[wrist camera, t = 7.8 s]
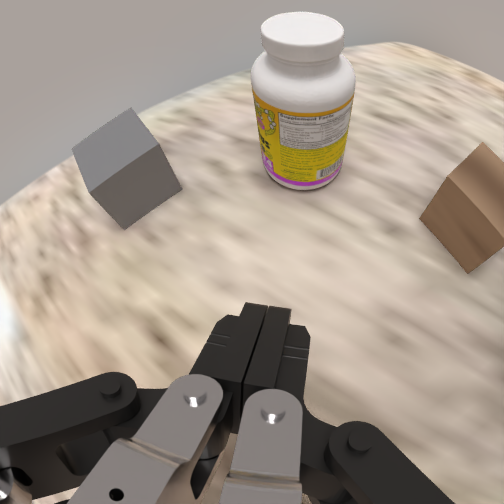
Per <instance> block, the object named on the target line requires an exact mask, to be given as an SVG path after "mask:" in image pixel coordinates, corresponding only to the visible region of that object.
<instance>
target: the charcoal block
mask: <svg viewBox="0 0 504 504" xmlns="http://www.w3.org/2000/svg"><path fill="white" fill-rule="evenodd" d="M72 151H73V154H74V157H75V159H76V162H77V164H78V167H79V170H80V172H81V175H82V177H83V180H84V182H85V184H86V187H87V189H88V192H89V193H90V194H91V196H92V197H93V198H94V199H95V200H96V201H97V202H98V203H99V204H100V205H101V206H102V207H103V208H104V209H105V210H106V212H107V213H108V214H109V215H110V216H111V217H112V218H113V219H114V220H115V221H116V222H117V223H118V224H119V225H120V226H121V227H122V228H123V229H124V230H125V229H127V228H128V227H129V226H131V225H132V224H133V223H135V222H136V221H137V220H139V219H140V218H142V217H143V216H144V215H146V214H147V213H149V212H150V211H151V210H153V209H154V208H156V207H157V206H159V205H160V204H161V203H163V202H164V201H166V200H167V199H169V198H170V197H172V196H173V195H175V194H176V193H178V192H179V191H181V190H182V187H181V185H180V183H179V182H178V180H177V178H176V176H175V174H174V172H173V170H172V168H171V166H170V164H169V162H168V160H167V158H166V156H165V154H164V152H163V151H162V149H161V147H160V145H159V143H158V142H157V140H156V139H155V138H154V137H153V135H152V134H151V133H150V131H149V130H148V129H147V127H146V126H145V125H144V124H143V122H142V121H141V120H140V118H139V117H138V116H137V114H136V113H135V112H134V111H133V109H132V108H129V109H128V110H126V111H125V112H123V113H122V114H120V115H118V116H117V117H115V118H114V119H112V120H111V121H109V122H108V123H107V124H105V125H104V126H102V127H101V128H99V129H98V130H96V131H95V132H94V133H92V134H91V135H89V136H88V137H87V138H85V139H84V140H83V141H81V142H80V143H79V144H77V145H76V146H75V147H73V148H72Z"/></svg>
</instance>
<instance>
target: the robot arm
mask: <svg viewBox="0 0 504 504" xmlns="http://www.w3.org/2000/svg"><path fill="white" fill-rule="evenodd" d="M290 317H291V309H289V308H281V307H274V306H269V308H268V306H267V305H260V304H254V303H247V302H246V303H245V305H244V307H243V309H242V311H241V314H240V316H234V315H226V316H225V317H224V318H222V319H221V320H219V321H218V322H217V323H216V325H215V327H214V329H213V330H212V332H211V335H210V336H209V338H208V340H207V343H205V345H204V347H203V349H202V351H201V353H200V355H199V357H198V358H197V360H196V362H195V364H194V366H193V368H192V370H191V371H190V373H189V375H185V376H182V377H180V378H178V379H176V380H175V381H174V382H172V384H171V385H170V386H169V387H168V388H165V389H141V388H137V386H136V384H135V382H134V380H133V379H132V378H131V377H130V376H128V375H126V374H123V373H119V372H108V373H104V374H101V375H98V376H95V377H92V378H89V379H86V380H83V381H80V382H77V383H74V384H71V385H68V386H65V387H62V388H59V389H56V390H53V391H50V392H47V393H43V394H40V395H37V396H34V397H30V398H27V399H24V400H20V401H17V402H14V403H10V404H7V405H3V406H0V504H32V500H34V499H38V498H42V497H46V496H49V495H53V494H56V493H60V492H63V491H66V490H70V489H73V488H76V487H79V486H80V487H79V488H78V489H77V491H76V492H75V493H74V495H73V496H72V497H71V499H68V500H64V501H61V502H58V503H55V504H201V502H202V500H203V498H204V496H205V494H206V492H207V489H208V487H209V485H210V483H211V481H212V479H213V477H214V475H215V473H216V470H217V468H218V466H219V464H220V462H221V460H222V457H223V455H224V452H225V446H226V444H227V441H228V438H229V435H230V433H235V434H238V437H237V441H236V446H235V450H234V455H233V459H232V464H231V468H230V471H229V474H227V476H226V478H225V481H224V485H223V489H222V493H221V497H220V501H219V504H301V501H302V493H304V494H306V495H308V498H309V499H310V501H311V502H312V504H455V503H454V502H453V501H452V500H451V499H449V498H448V497H447V496H446V495H445V494H444V493H443V492H442V491H441V490H440V489H439V488H438V487H437V486H436V485H435V484H434V483H433V482H432V481H431V480H430V479H429V478H428V477H427V476H426V475H425V474H424V473H423V472H421V471H420V470H419V469H418V468H417V467H416V466H415V465H414V464H413V463H412V462H411V461H410V460H409V459H408V458H407V457H406V456H405V455H404V454H403V453H402V452H401V451H400V450H399V449H398V448H397V447H396V446H395V445H394V444H393V443H392V442H391V441H390V440H389V439H388V438H387V437H386V436H385V435H384V434H383V433H382V432H381V431H380V430H379V429H378V428H377V427H375V426H373V425H371V424H369V423H366V422H360V421H353V422H347V423H344V424H342V425H340V426H339V427H335V426H332V425H330V424H327V423H325V422H322V421H320V420H318V419H317V418H315V417H314V416H313V415H311V414H310V412H309V411H308V410H307V408H306V407H305V404H304V400H303V395H304V387H305V380H306V372H307V364H308V355H309V346H310V335H309V333H308V331H307V329H306V327H305V326H300V325H292V324H290Z"/></svg>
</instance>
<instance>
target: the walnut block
mask: <svg viewBox="0 0 504 504" xmlns="http://www.w3.org/2000/svg"><path fill="white" fill-rule="evenodd" d="M419 219H420V220H421V221H422V222H423V223H424V224H425V225H426V226H427V227H428V229H429V230H430V231H431V232H432V233H433V234H434V235H435V236H436V237H437V239H438V240H439V241H440V242H441V243H442V244H443V245H444V246H445V248H446V249H447V250H448V251H449V252H450V253H451V255H452V256H453V257H454V258H455V259H456V260H457V262H458V263H459V264H460V265H461V267H462V268H463V269H464V270H465V271H466V273H467V274H468V273H470V272H471V271H472V270H474V269H475V268H476V267H478V266H479V265H480V264H482V263H483V262H484V261H486V260H487V259H488V258H490V257H491V256H492V255H493V254H495V253H496V252H497V251H499V250H500V249H501V248H502V247H504V163H503V162H502V160H501V159H500V158H499V157H498V156H497V155H496V154H495V153H494V152H493V151H492V150H491V149H490V148H489V147H487V146H486V145H485V144H484V143H483V142H482V143H481V144H480V145H479V146H478V147H477V148H476V149H475V150H474V151H473V152H472V153H471V154H470V155H469V156H468V157H467V158H466V159H465V160H464V161H463V162H462V163H461V164H460V165H458V166H457V167H456V168H455V169H454V170H453V171H452V172H451V173H450V174H449V175H448V176H447V177H446V179H445V181H444V182H443V184H442V185H441V187H440V188H439V190H438V191H437V193H436V195H435V196H434V198H433V199H432V201H431V202H430V204H429V205H428V207H427V208H426V210H425V211H424V212H423V214H422V215H421V217H420V218H419Z"/></svg>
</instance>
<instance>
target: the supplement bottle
mask: <svg viewBox="0 0 504 504" xmlns="http://www.w3.org/2000/svg"><path fill="white" fill-rule="evenodd" d="M261 38H262V46H263V47H264V49H265V51H264V52H263V53H262V54H261V55H260V56H259V57H258V58H257V59H256V61H255V62H254V64H253V66H252V70H251V84H252V91H253V97H254V104H255V111H256V117H257V125H258V132H259V139H260V146H261V153H262V158H263V163H264V166H265V169H266V170H267V172H268V173H269V175H270V176H271V177H272V178H273V179H274V180H275V181H277V182H278V183H280V184H281V185H283V186H286V187H288V188H292V189H297V190H309V189H315V188H319V187H322V186H324V185H326V184H328V183H329V182H330V181H332V180H333V179H334V178H335V177H336V175H337V174H338V172H339V171H340V168H341V165H342V161H343V156H344V150H345V145H346V139H347V134H348V128H349V122H350V116H351V110H352V104H353V98H354V91H355V83H356V76H355V72H354V69H353V67H352V65H351V63H350V62H349V61H348V59H347V58H346V57H345V56H344V55H342V54H341V52H342V50H343V47H344V29H343V27H342V25H341V24H340V23H339V22H337V21H336V20H334V19H332V18H330V17H328V16H325V15H322V14H317V13H311V12H290V13H283V14H279V15H276V16H273V17H271V18H269V19H267V20H266V21H265V22H264V23H263V24H262V26H261Z"/></svg>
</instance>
